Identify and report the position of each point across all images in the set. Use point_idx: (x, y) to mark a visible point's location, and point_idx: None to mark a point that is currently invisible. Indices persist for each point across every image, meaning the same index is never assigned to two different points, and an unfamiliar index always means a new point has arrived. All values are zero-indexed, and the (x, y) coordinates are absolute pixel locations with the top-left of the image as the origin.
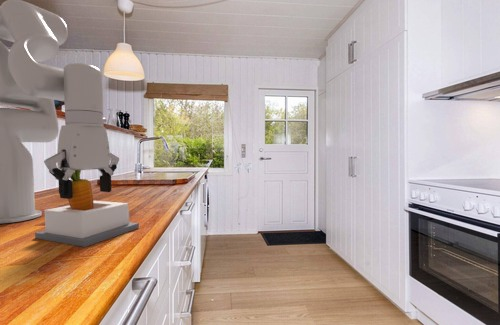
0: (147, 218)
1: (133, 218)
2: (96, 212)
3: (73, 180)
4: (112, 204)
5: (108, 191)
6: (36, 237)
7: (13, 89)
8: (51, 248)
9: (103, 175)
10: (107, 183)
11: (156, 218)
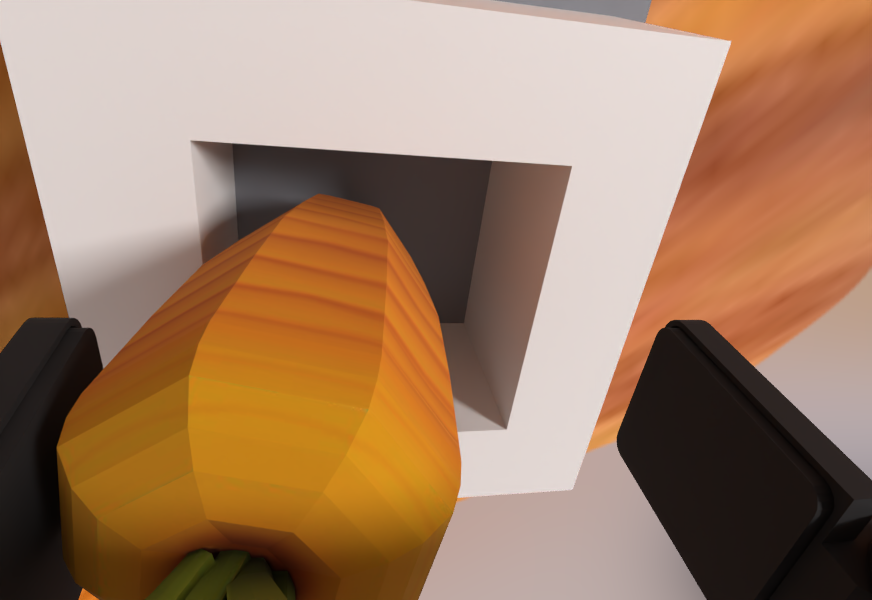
0: (753, 290)
1: (765, 195)
2: None
3: (172, 591)
4: (511, 426)
5: (619, 442)
6: None
7: None
8: (17, 265)
9: (807, 572)
10: (670, 523)
11: (746, 341)
